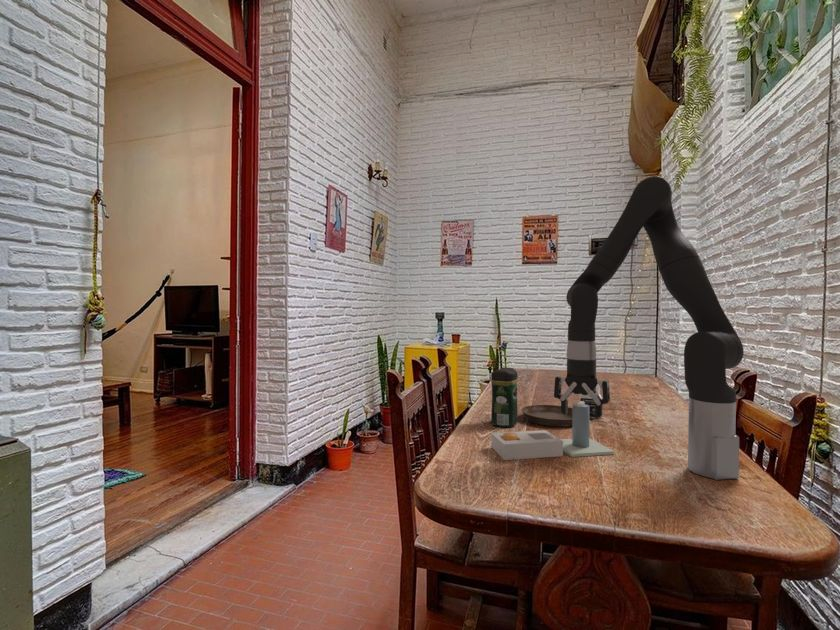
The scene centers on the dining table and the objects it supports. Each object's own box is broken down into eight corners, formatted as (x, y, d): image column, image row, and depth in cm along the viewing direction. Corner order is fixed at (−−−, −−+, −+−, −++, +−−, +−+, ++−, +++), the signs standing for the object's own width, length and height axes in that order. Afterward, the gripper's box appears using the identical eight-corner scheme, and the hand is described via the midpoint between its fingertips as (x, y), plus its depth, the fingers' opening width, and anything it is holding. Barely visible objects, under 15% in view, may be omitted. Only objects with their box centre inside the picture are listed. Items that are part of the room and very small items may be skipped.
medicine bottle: (580, 417, 153) (580, 383, 153) (579, 412, 160) (579, 379, 160) (602, 418, 151) (602, 384, 151) (600, 413, 158) (600, 380, 158)
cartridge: (591, 444, 121) (591, 402, 120) (586, 448, 117) (587, 405, 117) (574, 441, 123) (575, 400, 123) (570, 445, 120) (570, 403, 119)
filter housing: (545, 444, 124) (545, 430, 124) (562, 456, 114) (562, 441, 114) (491, 447, 121) (491, 433, 121) (504, 460, 111) (504, 444, 111)
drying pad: (614, 454, 115) (614, 451, 115) (571, 457, 113) (571, 454, 113) (589, 440, 127) (589, 437, 127) (550, 442, 125) (550, 439, 125)
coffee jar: (497, 419, 151) (497, 365, 151) (520, 422, 147) (520, 367, 147) (487, 426, 142) (487, 369, 142) (511, 429, 139) (511, 370, 138)
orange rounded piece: (513, 443, 119) (513, 432, 119) (519, 447, 115) (519, 436, 115) (501, 444, 118) (501, 432, 118) (506, 448, 115) (506, 436, 115)
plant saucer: (561, 411, 162) (561, 402, 162) (597, 426, 142) (598, 416, 142) (511, 415, 157) (511, 406, 157) (541, 431, 137) (541, 421, 137)
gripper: (612, 357, 118) (611, 417, 119) (559, 354, 127) (559, 410, 127) (606, 360, 112) (605, 423, 113) (551, 356, 120) (550, 415, 121)
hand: (581, 416), depth 120 cm, fingers open, 8 cm apart
